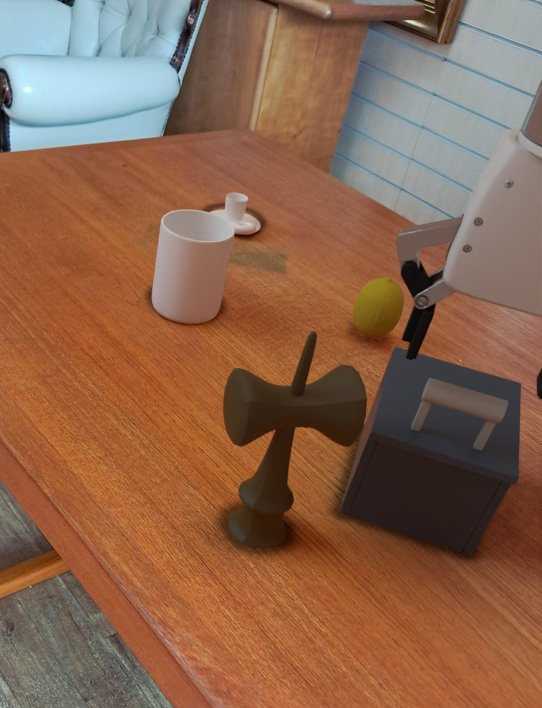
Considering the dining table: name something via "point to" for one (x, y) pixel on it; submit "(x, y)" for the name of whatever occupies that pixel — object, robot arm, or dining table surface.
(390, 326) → the lemon
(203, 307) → the mug
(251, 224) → the teacup and saucer
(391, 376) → the lid
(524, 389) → the dining table surface
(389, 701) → the dining table surface
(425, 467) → the chest
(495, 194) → the robot arm
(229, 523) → the kendama
